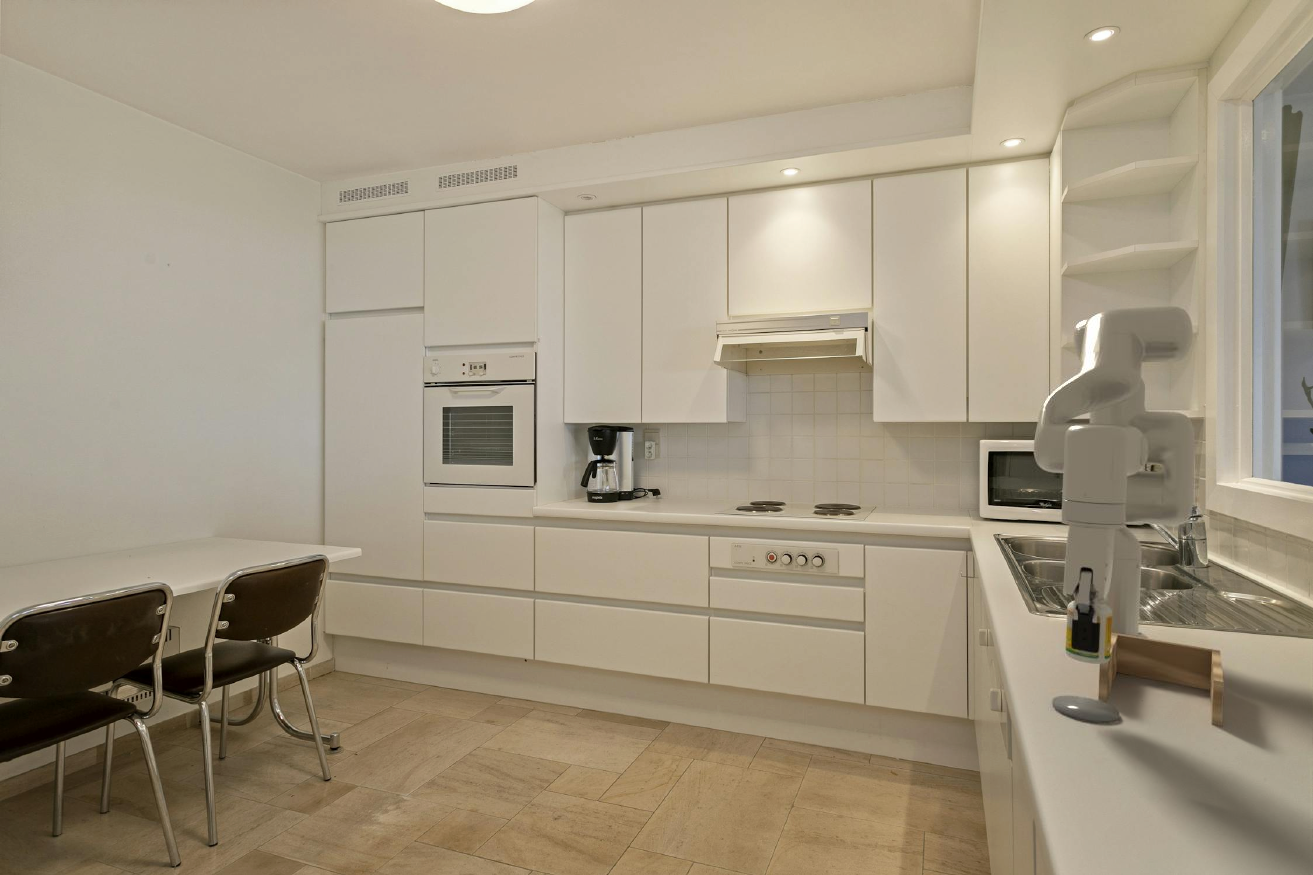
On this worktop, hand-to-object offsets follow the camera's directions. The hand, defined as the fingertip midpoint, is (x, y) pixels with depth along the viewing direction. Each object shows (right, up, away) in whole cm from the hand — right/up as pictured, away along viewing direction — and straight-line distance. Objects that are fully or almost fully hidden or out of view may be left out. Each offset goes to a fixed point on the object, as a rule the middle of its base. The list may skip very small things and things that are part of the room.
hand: (1087, 643), depth 99 cm
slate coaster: (0, -9, 0) cm, 9 cm away
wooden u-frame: (+15, -10, +7) cm, 19 cm away
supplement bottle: (0, -2, 0) cm, 2 cm away
